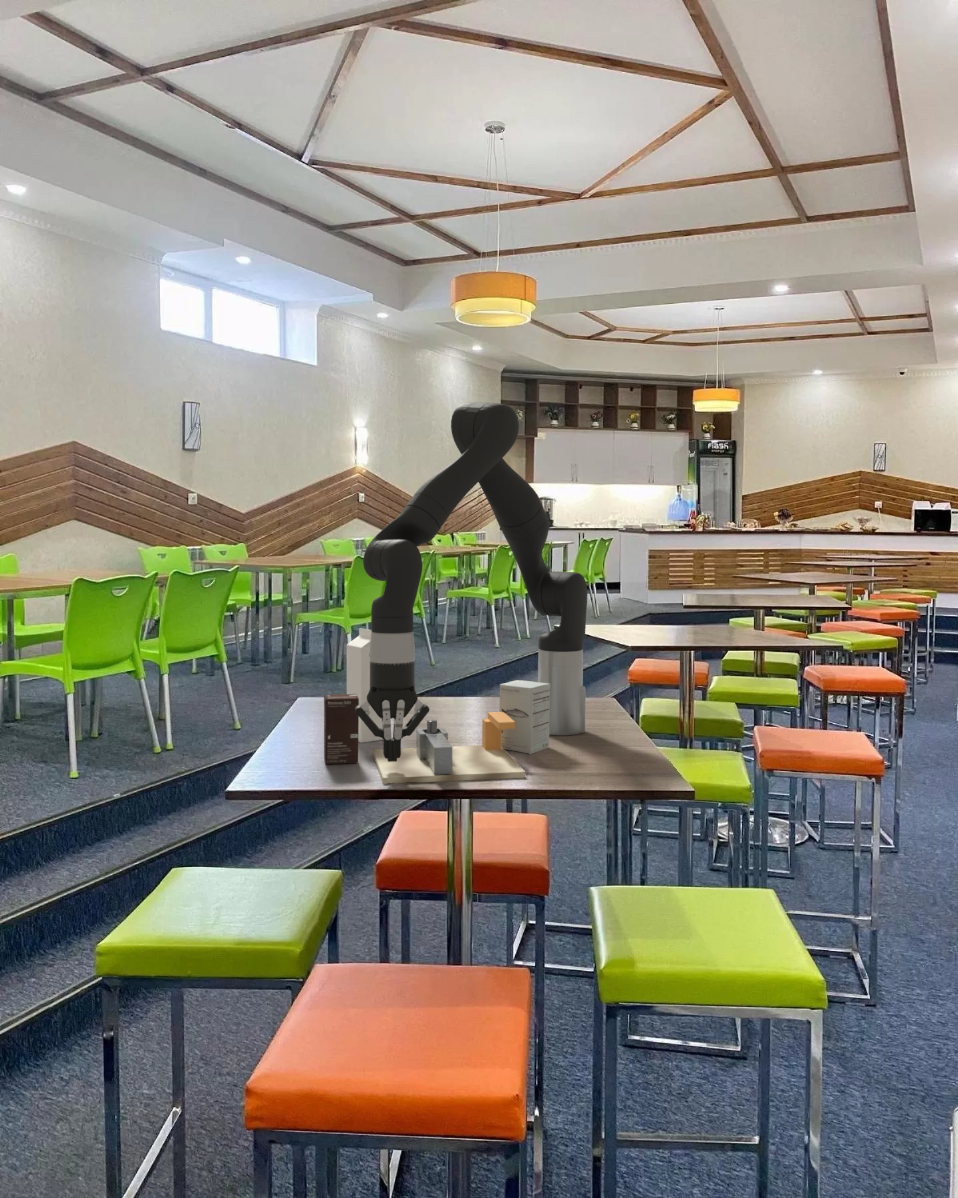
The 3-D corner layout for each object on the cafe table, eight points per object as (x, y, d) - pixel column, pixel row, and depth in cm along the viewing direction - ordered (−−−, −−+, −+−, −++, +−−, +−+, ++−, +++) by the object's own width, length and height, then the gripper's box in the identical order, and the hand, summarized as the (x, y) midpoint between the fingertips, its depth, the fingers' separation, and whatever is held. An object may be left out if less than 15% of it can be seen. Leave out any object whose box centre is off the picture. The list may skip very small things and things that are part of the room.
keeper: (503, 751, 181) (503, 711, 180) (514, 763, 171) (515, 722, 170) (482, 751, 180) (482, 712, 179) (493, 764, 170) (493, 722, 170)
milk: (361, 743, 187) (360, 631, 185) (346, 737, 192) (345, 628, 190) (388, 739, 191) (387, 629, 189) (372, 734, 196) (371, 627, 194)
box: (325, 765, 169) (325, 698, 168) (323, 760, 173) (323, 694, 172) (359, 764, 170) (359, 697, 169) (357, 758, 174) (356, 693, 173)
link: (416, 753, 173) (416, 728, 173) (443, 752, 174) (443, 727, 174) (428, 774, 158) (428, 748, 157) (458, 773, 159) (458, 746, 158)
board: (499, 749, 182) (499, 744, 181) (525, 777, 161) (525, 771, 161) (372, 754, 177) (372, 749, 177) (383, 784, 156) (383, 778, 156)
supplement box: (497, 749, 182) (497, 683, 181) (518, 742, 188) (518, 679, 187) (530, 754, 178) (531, 687, 177) (550, 747, 184) (551, 682, 183)
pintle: (442, 758, 174) (442, 718, 174) (445, 764, 170) (445, 722, 169) (418, 759, 173) (418, 719, 173) (421, 765, 169) (421, 723, 168)
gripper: (353, 662, 155) (354, 767, 156) (434, 660, 157) (434, 764, 158) (351, 656, 162) (351, 757, 163) (428, 655, 165) (428, 754, 166)
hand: (392, 760), depth 161 cm, fingers closed
